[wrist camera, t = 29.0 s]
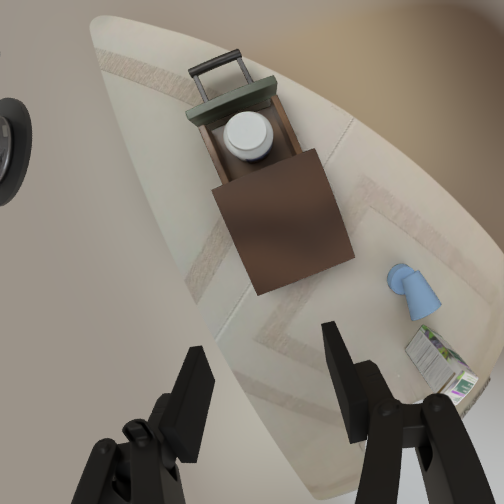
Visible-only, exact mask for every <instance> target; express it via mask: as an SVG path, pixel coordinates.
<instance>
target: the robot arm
mask: <svg viewBox="0 0 504 504" xmlns="http://www.w3.org/2000/svg"><path fill="white" fill-rule="evenodd" d="M14 144H15V138H14V130H13V126H12V123H11V122H10V120H9V119H8V118H7V117H5V116H0V185H1V184H2V182H3V181H4V180H5V178H6V176H7V174H8V172H9V169H10V166H11V163H12V159H13V154H14ZM321 326H322V333H323V340H324V347H325V355H326V362H327V365H328V369H329V372H330V375H331V379H332V382H333V385H334V389H335V392H336V396H337V399H338V402H339V406H340V409H341V413H342V416H343V420H344V423H345V427H346V431H347V434H348V438H349V441H350V444H353V443H357V442H360V441H364V440H367V434H368V440H367V446H366V452H365V458H364V463H363V469H362V474H361V478H360V483H359V488H358V492H357V497H356V501H355V504H396V503H397V496H398V488H399V479H400V469H401V458H402V448H413V447H415V450H416V454H417V457H418V461H419V465H420V468H421V472H422V476H423V480H424V484H425V488H426V492H427V496H428V501H429V504H496V503H495V500H494V497H493V494H492V492H491V489H490V486H489V483H488V481H487V478H486V476H485V473H484V470H483V468H482V465H481V463H480V460H479V458H478V456H477V453H476V451H475V448H474V446H473V444H472V442H471V439H470V437H469V435H468V433H467V431H466V429H465V427H464V424H463V422H462V420H461V418H460V416H459V414H458V412H457V410H456V408H455V406H454V404H453V402H452V400H451V399H450V397H449V396H447V395H445V394H443V393H434V394H431V395H429V396H427V397H426V398H425V399H424V400H423V403H420V404H402V403H401V402H400V401H399V400H397V399H395V398H394V397H393V395H392V393H391V391H390V389H389V387H388V385H387V384H386V382H385V380H384V378H383V376H382V374H381V373H380V370H379V368H378V366H377V365H376V364H375V363H373V362H372V361H370V360H367V361H363V362H360V363H356V364H353V362H352V359H351V357H350V355H349V353H348V350H347V348H346V346H345V343H344V341H343V339H342V337H341V334H340V332H339V330H338V328H337V326H336V323H335V321H331V322H327V323H323V324H321ZM214 384H215V379H214V377H213V374H212V371H211V369H210V366H209V363H208V361H207V358H206V356H205V353H204V350H203V347H202V346H195V347H190V348H189V351H188V353H187V355H186V358H185V360H184V363H183V365H182V368H181V370H180V373H179V375H178V377H177V380H176V382H175V385H174V387H173V390H172V392H171V393H164V394H162V395H161V396H160V397H159V398H158V399H157V402H156V404H155V406H154V408H153V410H152V413H151V415H150V417H149V419H148V422H147V421H145V420H144V419H134V420H132V421H129V422H128V423H126V425H125V426H124V427H123V429H122V432H123V433H124V435H125V436H126V437H127V439H128V440H129V442H128V443H122V444H117V443H115V441H114V440H112V439H110V438H105V439H102V440H99V441H98V442H97V443H96V444H95V445H94V447H93V449H92V452H91V454H90V456H89V459H88V461H87V464H86V466H85V469H84V471H83V474H82V476H81V479H80V481H79V484H78V486H77V489H76V492H75V494H74V497H73V500H72V502H71V504H186V503H185V498H184V494H183V489H182V484H181V479H180V474H179V469H178V466H177V465H176V463H175V461H176V458H177V457H178V458H179V460H180V461H181V463H197V458H198V454H199V450H200V445H201V441H202V436H203V432H204V427H205V423H206V418H207V414H208V409H209V405H210V401H211V397H212V392H213V388H214Z"/></svg>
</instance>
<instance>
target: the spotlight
mask: <svg viewBox="0 0 504 504" xmlns="http://www.w3.org/2000/svg"><path fill="white" fill-rule="evenodd" d="M387 282H388V285H389V287H390V288H391V289H392V290H393V291H394V292H395V293H397V294H400V295H402V294H405V295H406V299H407V303H408V307H409V312H410V316H411V320H412V321H415V320H418V319H421V318H423V317H426V316H427V315H429V314H431V313H433V312H434V311H436V310H437V309H438V308H439V307H440V306H441V302H440V301H439V299H438V298H437V296H436V295H435V293H434V292H433V290H432V289H431V287H430V286H429V284H428V283H427V281H426V280H425V278H424V277H423V275H422V274H421V273H420V271H419V270H417V271H415V272H414V270H413V269H412V268H410V267H409V266H407V265H406V264H398V265H395V266H394V267H393V268H392V269H391V270H390V272H389V274H388V278H387Z"/></svg>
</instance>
